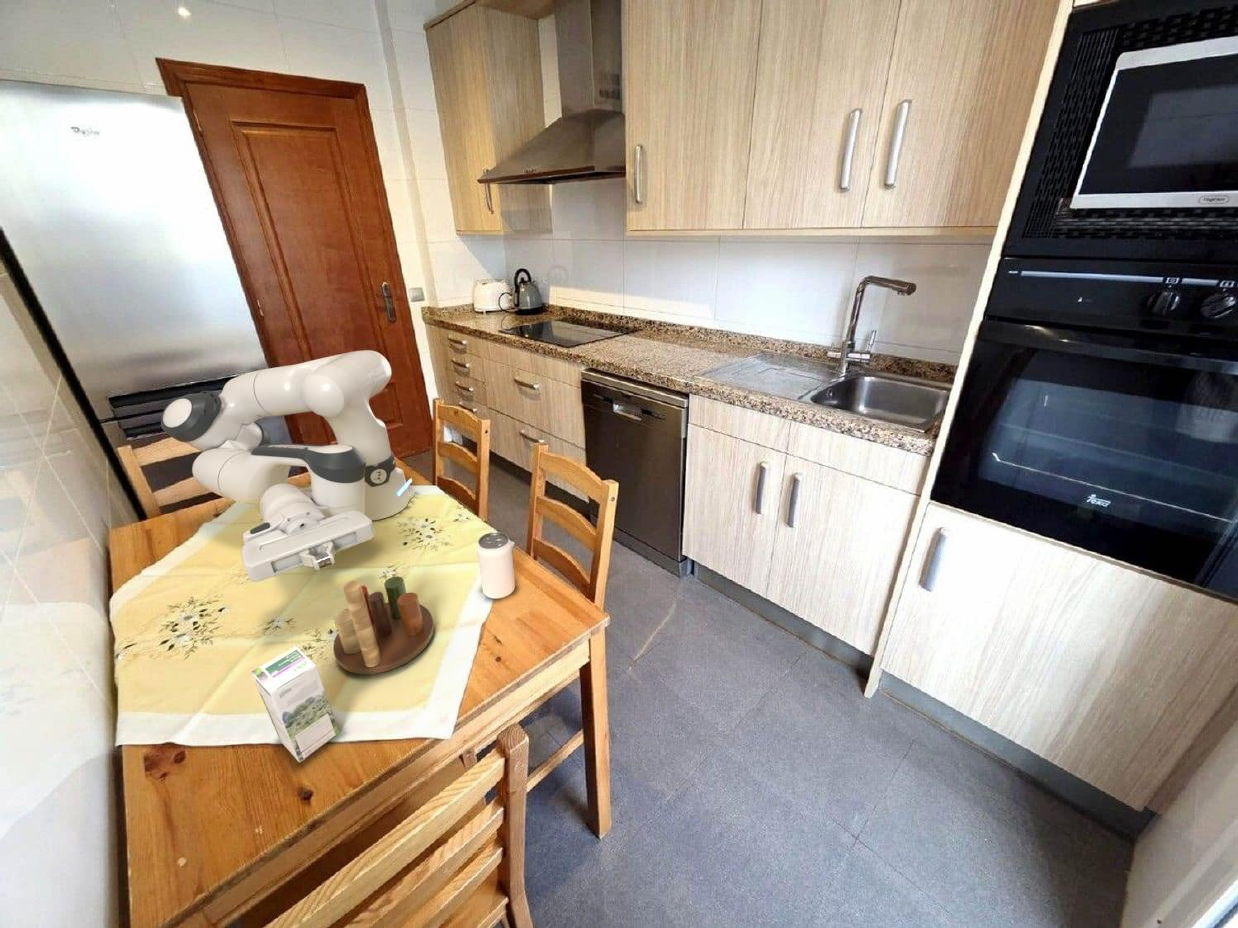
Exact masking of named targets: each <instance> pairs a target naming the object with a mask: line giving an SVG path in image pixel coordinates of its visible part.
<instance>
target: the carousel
mask: <svg viewBox="0 0 1238 928" xmlns="http://www.w3.org/2000/svg"><path fill="white" fill-rule="evenodd" d="M383 587H384V590H385V594H386V598H387V602H386V599H385V596H384V593H383V592H382V591H375V592H372V593H369V589H368V587H367V586H366V585H362V582H360V581H358V580H352V581H349V582H347V583H345V584H344V586H343V590H342V591H343V593H344V597H345V599H346V604H347V606H348V608H344V609H342V610H340V611H338V612H337V613H335V615H334V617H333V620H334V624H335V626H336V630H337V634H336V637H335V639H334V641H333V650H332V651H333V655H334V657H335V660H336V662H337V664H338V665H339V666H340V667H341V668H343V670H346V671H348V672H350V673H354V674H359V675H376V674H375V673H380V674H382V673H381V672H385V671H388V670H391V669H394V668H396V667H399V666H401V665H403V664H405V663H406V664H408V663H409V662H411V661H412V660H414V659H415V658H416V657H417V656H418V655H419V654H421V652H422V651H424V649H425V648H427V645H428V644H429V643H430V641H431V639H432V637H433V634H434V631H435V623H434V619H433V615H432V613H431V611H430V610H429V609H428V608H427V607H426V606H424V605H422V604H421V603H420V601H419V597H418V594H417V593H415V592H407V589H406V583H405V580H404V578H403V577H402V576H399V575H397V576H392V577H389V578H388V579H386V580H385V581H384V583H383ZM415 656H416V657H415ZM414 657H415V658H414ZM413 658H414V659H413ZM411 659H412V660H411ZM410 660H411V661H410ZM408 661H409V662H408ZM407 662H408V663H407ZM406 664H405V665H406ZM403 666H404V665H403ZM401 667H402V666H401ZM399 668H400V667H399ZM394 670H395V669H394ZM388 672H389V671H388ZM385 673H386V672H385Z"/></svg>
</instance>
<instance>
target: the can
mask: <svg viewBox="0 0 1238 928" xmlns="http://www.w3.org/2000/svg"><path fill="white" fill-rule="evenodd" d="M476 551H477V552H476V553H477V561H478V567H479V575H480V581H481V588H482V589H481V590H482V593H483V595H484V596H486V597H487V598H489V599H494V600H499V599H504V598H506V597H508V596H511V594H512V593H513V592H514V590H515V588H516V580H515V579H516V578H515V569H514V559H513V549H512V543H511V541H510V540H509V537H508V535H507V534H506V533H504V532H501V531H492V532H488V533H485V534H483V535H482V536H480V538H479V539H478V545H477V548H476Z"/></svg>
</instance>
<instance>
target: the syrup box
mask: <svg viewBox="0 0 1238 928" xmlns="http://www.w3.org/2000/svg"><path fill="white" fill-rule="evenodd" d="M250 673H251V676H252V679H253V681H254V683H255V686H256V688H257V690H258V692H259V695H260V697H261V700H262V702H263V704H264V706H265V709H266V711H267V714H268V716H269V718H270V720H271V723H272V725H273V728H274V730H275V733H276V735H277V737H278V739H279V741H280V743H281V744H282V745H283V746H284V747H285V748H286V749H287V751H289V753H290V754H291V755H292V757H294V759H295V760H296V761H297V762H298V763H302V762H304V761H305V760H306V759H308V758H309V757H310V756H311V755H313V754H314V753H315V752H317V751H318V750H319V749H321V748H322V747H323V746H324V745H326V744H327V743H328V742H330V741H332V740H333V739H334V738H335V737H337V736H338V735H339V734H340V731H339V727H338V725H337V722H336V719H335V716H334V713H333V710H332V707H331V704H330V701H329V697H328V695H327V692H326V689H325V686H324V683H323V680H322V677H321V674H320V671H319V668H318V665H317V664H316V663H315V662H313V660H312V659H311V658H309V657H308V656H307V655H306V653H304V652H303V651H302V650H301V649H300V648H298V647H297V645H294V646H292V647H291V648H289V649H288V650H286V651H284V652H282V653H280V654H279V655H277V656H276V657H274V658H272V659H270V660H269V661H267V662H266V663H264V664H262V665H260V666H259V667H257V668H255V669H254V670H252V671H251V672H250Z"/></svg>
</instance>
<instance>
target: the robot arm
mask: <svg viewBox="0 0 1238 928" xmlns="http://www.w3.org/2000/svg"><path fill="white" fill-rule="evenodd" d="M391 377H392V367H391V365H390V363H389V361H388V360H387V358H386V357H385V355H384V356H383V355H382V354H381V353H380V352H378V351H376V350H373V349H371V350H370V349H364V350H363V349H362V350H355V351H349V352H344V353H341V354H334V355H329V356H326V357H321V358H318V359H313V360H308V361H304V362H301V363H296V364H292V365H291V364H290V365H283V366H278V367H272V368H271V367H270V368H265V369H264V368H263V369H259V370H255V371H251V372H247V373H244V374H241V375H238V376H236V377H234V378H231V379H230V380H228V381H227V382H226V383H225V384H224V386H223V388H222V391H221V392H220V393H219V394H218V393H217V392H215V391H212V390H202V391H199V392H198V393H188V394H185V395H182V396H179V397H177V398H175V399H173V400H171V401H170V402H169V403H168V404H167V405H166V406H165V407H164V409H163V410H162V413H161V416H160V426H161V428H162V430H163V431H164V432H165V433H166V434H167V435H169V436H170V437H171V438H173V439H174V440H176V441H178V442H181V443H185V444H187V445H188V446H191V447H192V448H194V449H197V450H198V451H202V452H201V453H200V454H199V455H198V456H197V457H196V458H195V459H194V461H193V463H192V468H191V473H192V476H193V478H194V480H195V482H196V483H198V484H199V485H200V486H202V487H203V488H204V489H207V490H208V491H209V492H212V493H214V494H216V495H218V496H220V497H222V498H225V499H228V500H231V501H234V502H237V503H240V504H245V505H259V507H258V509H259V513H260V516H261V519H262V521H263V523H261V524H259V525H256V526H255V527H253V528H250V529H248V530H246V531H245V532H243V533H242V540H243V546H242V547H241V561H242V564H243V567H244V570H245V572H246V575H247V577H248V579H249V581H250V582H252V583H261V582H262V581H263V582H264V581H265V580H268V579H270V578H273V577H275V576H278V575H281V574H284V573H286V572H289V571H291V570H294V569H297V568H300V567H301V566H304V567H310V568H314V569H315V572H316V571H317V572H318V571H319V570H322V569H324V568H326V567H329V566H332V565H335V564H336V561H335V556H336V555H337V553H339V552H341V551H343V550H346V549H349V548H352V547H354V546H357V545H359V544H362V543H365V542H367V541H370V540H372V539H373V538H374V537H375V535H376V530H375V525H374V522H373V521H378V520H383V519H386V518H390V517H392V516H394V515H397V514H399V513H400V512H402V511H403V510H405V508H406V507H408V504H409V502H410V501H411V500H412V499H413V498H414V497H415V496H416V493H415V491H414V490H412V489H411V488H409V486H410V484H411V483H412V482H413V480H412V479H413V478H410V479H408V480H406V476H405V473H404V470H403V469H401V468H400V467H397V463H396V456H395V454H394V452H393V451H392V450H391V449H392V448H391V444H390V440H389V435H388V434H389V433H388V429H387V426H386V424H385V423H384V421H383V420H381V419H380V418H378V417H376V416H375V414H374V412H373V411H372V409H371V406H370V399H371V398H372V399H373V398H374V397H375V396H377V395H378V394H380V393H381V392H382V391H383V390H384V389H385V387H386V386H387V385H388V383H389V381H390V380H391ZM310 412H312V413H314V414H316V415H317V416H320V417H323V418H324V420H325V421H326V422H327V423H328V425H329V427H330V428H331V430H332V431H333V434H334V436H335V440H336V443H337V444H308V443H307V444H306V443H289V442H287V443H286V442H277V443H275V442H273V443H271V434H270V432H269V431H268V430H267V429H266V428H264V427H263V426H262V425H261V424H260V423H258V422H256V421H258V420H260V419H263V418H274V417H282V416H288V415H296V414H303V413H310ZM292 466H294V467H304V468H306V469H307V471H308V474H309V476H310V477H309V478H310V487H311V488H310V489H311V490H310V491H309V490H304V489H302V488H300V487H298V486H296V485H295V484H293V483H288V481H289V474H290V470H291V467H292Z"/></svg>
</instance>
